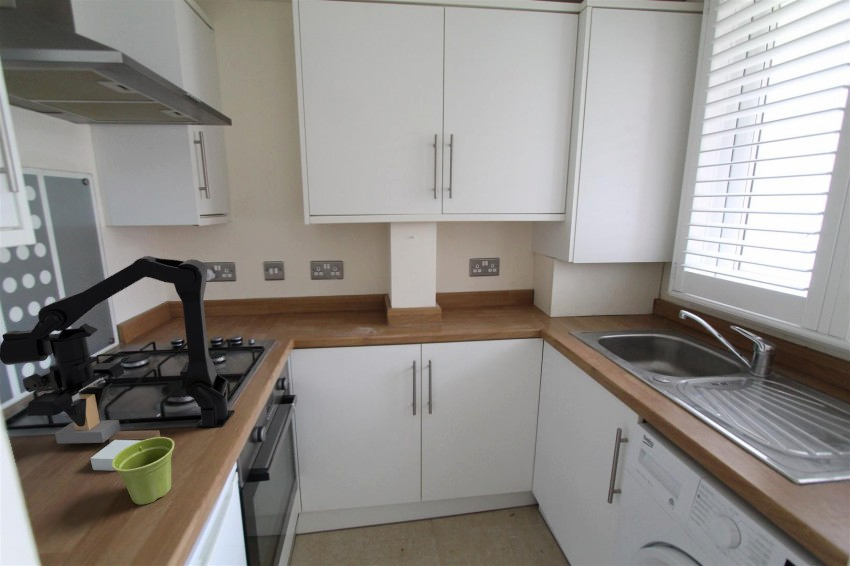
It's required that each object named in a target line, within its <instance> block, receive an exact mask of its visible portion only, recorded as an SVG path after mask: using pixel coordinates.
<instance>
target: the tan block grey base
mask: <svg viewBox="0 0 850 566" xmlns="http://www.w3.org/2000/svg"><path fill="white" fill-rule="evenodd" d="M79 396H80V399H87V401H86V418H85V425H84V426H82V427H79V426H77V424H76V423H75V422H74V421H72V422H70V423H69V424H67V425H66V426H65V427H63V428H61V429H60V430H58V431H56V432H54V434H55V440H56V444H93V443H94V444H95V443H98V444H99V443H100V444H101V443H102V444H103V443H105V442H106V441H107V440H109V439H110V438H111V437H112V436H114V435H115V434H116V433H117V432H119V431H121V426H120V420H118V419H106V420H103V419H102V420H100V416H99V412H98V410H97V404H96V398H95V394H81V393H80V394H79Z"/></svg>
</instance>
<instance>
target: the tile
mask: <svg viewBox="0 0 850 566" xmlns="http://www.w3.org/2000/svg"><path fill="white" fill-rule="evenodd" d="M137 442H140V441H138V440H114V441H113V442H111V443H109V444H107V445H106V446H105V447H103V448H102V449H101V450H99V451H98V452H97V453H95V454H94V455H93V456H91V457H90V461H91V466H92V470H94V471H116V470H114V469H113V467H112V461H113V459H114V458H115V456H116V455H117V454H118V453H119V452H121V451H122V450H124V449H125V448H127V447H129V446H130V445H132V444H135V443H137ZM116 472H117V471H116Z"/></svg>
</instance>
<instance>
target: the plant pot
mask: <svg viewBox="0 0 850 566" xmlns="http://www.w3.org/2000/svg"><path fill="white" fill-rule="evenodd" d="M174 448H175V441H174V440H173V439H172V438H170V437H165V436H160V437H155V438H150V439H146V440H142V441H140V442H137V443H135V444H132V445H130V446H129V447H127V448H125V449H124V450H122V451H121V452H119V453H118V454H117V455H116V456H115V458H114V459H113V461H112V467H113V469H114V470H116V472H117V474H118V475H120V476H121V479H122V481H123V482H124V484H125V487H126V489H127V492H128V494H129V495H130V499H131V501H132V502H133V503H134V504H136V505H146V504H150V503H153V502H155V501H157V500H158V499H159V498H162V497H165V496H166V495H167V494H168V493H169V492H170V490H171V488H172V456H173V451H174Z"/></svg>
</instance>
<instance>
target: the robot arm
mask: <svg viewBox="0 0 850 566" xmlns="http://www.w3.org/2000/svg"><path fill="white" fill-rule="evenodd" d="M144 278H150V279H152V280H157V281H160V282H163V283H168V284H173V285H174V289H175V292H176V293H177V296H178V298H179V300H180V302H181V304H182V311H183V312H182V313H183V320H184V321H183V322H184V328H185V337H186V338H185V339H186V340H185V341H186V346H187V347H186V348H187V357H188V361H186V362H185V363H184V365H183V367H182V368H181V370H180V371H179V376H180V379H181V381H182V385H181V387H180V388H181V390H183V389H184V393H185V395H186V396H188V397H190V398H192V399H193V400H194V401H195V403H196V404H197V406H198V407H199V408H200V416H201V419H202V421H200V420H199V421H200V422H199V421H198V422H197V423H196V427H199V428H201V427H202V428H204V427H206V428H207V427H210V428H211V427H223V426H225V425H226V424H227V422H228V421H229V420H230V419H231V418H232V416H233V415H234V414H235V411H236V410H235V409H229V404H228V403H229V402H228V396H227V390H226V387H227V384H228V379H227V378H225V377H224V376H221V374H218V373H217V370H216V367H215V364H214V361H213V359H212V358H211V356H210V354H209V344H208V334H207V325H206V323H207V322H206V314H205V304H204V303H205V302H204V298H205V291H206V286H207V279H208V268H207V266H206V264H204V263H203V262H202V261H200V260H198V259H192V258H191V259H187V260H179V259H170V258H161V257H160V258H159V257H154V256H150V255H145V256H142V257H140V258H138V259H136V260H135V261H133V262H132V263H131V264H130V265H128V266H126V267H124V268H122V269H121V270H119V271H117V272H115V273H114V274H112V275H109V276H108V277H106V278H104V279H103V280H101V281H99V282H98V283H95V284H94V285H92V286H90V287H88V288H86V289H84V290H81V291H78V292H75V293H73V294H70V295H67V296H64V297H62V298H59V299H57V300H55V301H53V302H51V303H49V304H47V305H45V306H43V307H41V309H39V311H38V312H37V313H38V315H37V316H38V317H37V318H38V321H37V323H36V324H35V326H34V328H33V329H29V330H8V331H7V332H5V333H3V334H2V342H1V343H0V361H1V362H2V363H3V364H4V365H6V366H11V365H12V366H13V365H21V364H27V363H29V364H30V363H37V362H44V361H46V360H47V359H48V358H49V356H51V355H52V356H53V360H54V364H52V365H50V367H49V370H48V371H46V372H44V373H42V374H38V373H33V374H32V375H31V374H30V375H29V376H27V377H25V378H23V379H22V383H23V387H24V389H25V391H26V392H29V393H33V392H36V393H37V394H38V393H41V392H43V391H44V390H47V389H50V388H51V390H53V391H54V390H55V391H57V390H60V389H61V391H60V392H44V393H43V394H40V395H39V396H37V397H35V398H34V399H31V400H29V402H28V403H27V404H26V405H25V410H26V414H27V415H26V416H28V417H37V416H38V417H39V416H47V417H48V416H49V417H50V416H56V415H59V414H61V413H63V412H64V413H65V414H66V415H67V417H69V418H70V419H71V420H72V422H75V423H76V424H77V426H79V427H82V426H84V425H85V418H86V401H87V399H80V396H79V395H81V394H95V398H96V404H97V410H98V413H99V412H100V409H101V407H102V405H103V402H104V399H105V397H106V394H107V392H108V390H109V388H110V386H112V382H111V381H110V382H109V381H107V382H106V380H105V379H104V378H105V377H107V376H108V375H110V377H111V379H118V378H119V377H121V376H123V375H124V374H125V370H124V366H123V365H122V364H120V363H119V362H104V363H103V362H100V363H98V364H95V365H93V364H94V363H96V362H97V361H98V359H97V355H95V356H94V355H93V356H91V352H90V347H89V344H88V337H89V338H90V337H91V336H93V335H94V334H96V333H97V332H98V328H96V327H93V326H91V325H89V324H88V323H86V322H85V323H83V324H82V325H80V326H79V327H75V328H74V327H73V328H70V327H72V326H73V325H74V324H76V323H78V322H80V321H81V320H82V319H84V318H85V317H86V316H87V315H89V314H90V313H91V312H92V311H93V310H94V309H96V308H97V307H98V306H99V305H100V304H101V303H102V302H104V301H106V300H107V299H110V298H112V297H113V296H114V295H116V294H118V293H119V292H121V291H123V290H125V289H127V288H128V287H131V285H134V284H136V283H137V282H139V281H140V280H142V279H144ZM54 332H59V333H54ZM51 333H52V334H51Z"/></svg>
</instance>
